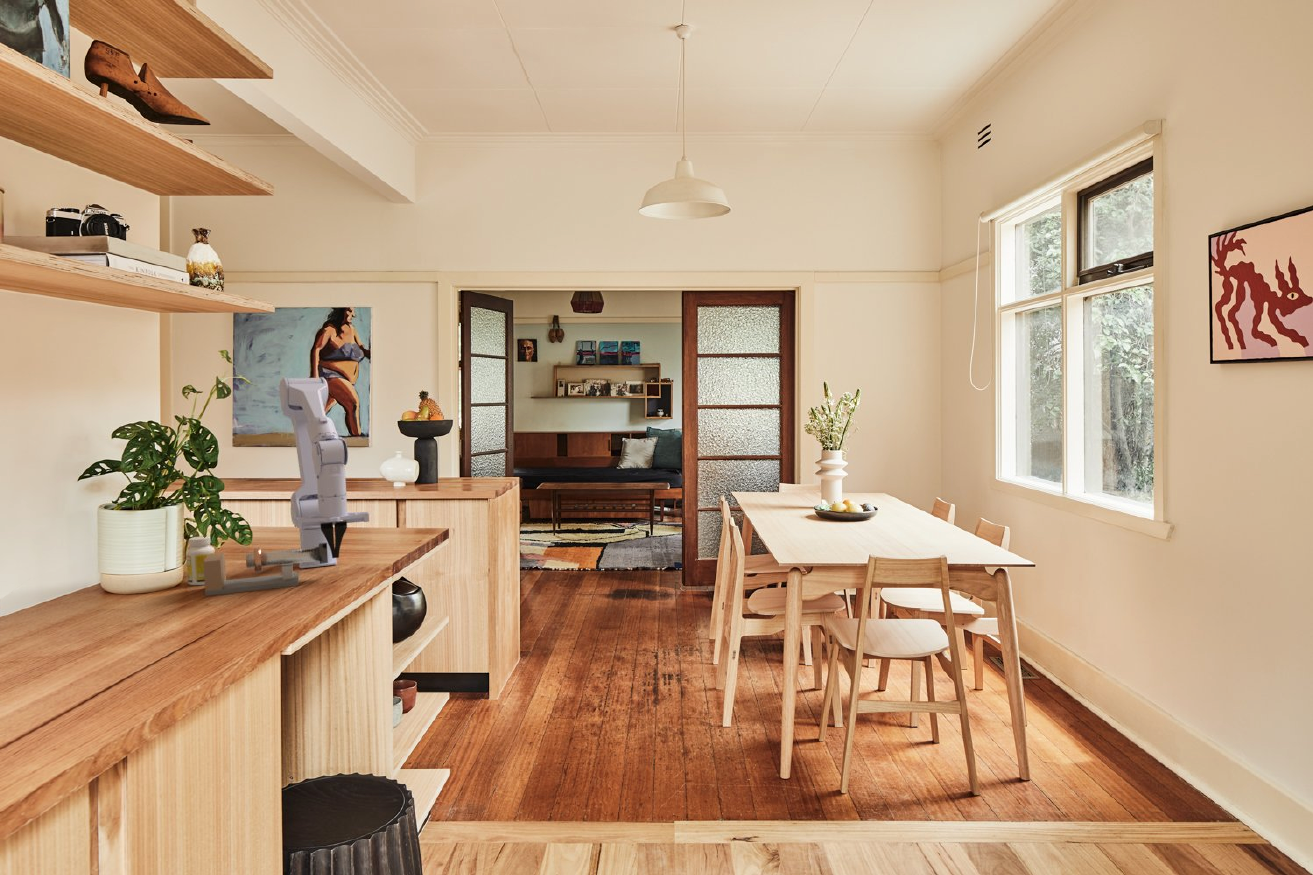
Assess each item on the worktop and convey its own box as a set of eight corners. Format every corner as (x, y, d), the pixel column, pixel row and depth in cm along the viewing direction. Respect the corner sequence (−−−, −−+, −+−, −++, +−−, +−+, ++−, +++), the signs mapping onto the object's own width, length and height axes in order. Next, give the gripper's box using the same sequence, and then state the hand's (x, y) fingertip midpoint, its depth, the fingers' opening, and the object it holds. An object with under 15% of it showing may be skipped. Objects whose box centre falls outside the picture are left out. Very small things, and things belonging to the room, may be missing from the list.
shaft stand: (210, 586, 167) (208, 554, 166) (298, 577, 174) (296, 545, 173) (205, 596, 160) (203, 561, 159) (298, 585, 166) (296, 552, 166)
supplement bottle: (222, 579, 173) (219, 535, 172) (206, 586, 168) (203, 540, 167) (199, 579, 174) (196, 535, 173) (182, 585, 168) (179, 540, 168)
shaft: (248, 570, 168) (246, 546, 168) (327, 561, 174) (326, 539, 174) (246, 575, 164) (244, 551, 163) (328, 566, 170) (326, 543, 169)
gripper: (295, 500, 165) (298, 564, 166) (368, 494, 171) (372, 557, 172) (295, 496, 171) (299, 557, 172) (366, 490, 177) (369, 550, 178)
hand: (335, 557), depth 173 cm, fingers closed
